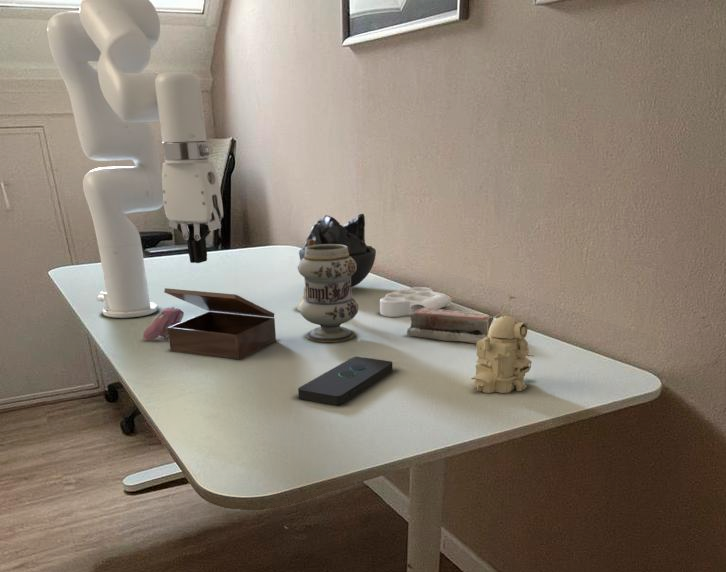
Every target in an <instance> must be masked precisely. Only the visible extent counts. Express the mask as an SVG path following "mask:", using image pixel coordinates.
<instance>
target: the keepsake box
mask: <svg viewBox="0 0 726 572" xmlns="http://www.w3.org/2000/svg"><path fill="white" fill-rule="evenodd" d="M275 321H276V320H275V317H264V316H254V315H244V314H234V313H224V312H214V311H206V312H204V313H201V314H198V315H196V316H193V317H190V318H188V319H185V320H182V321H181V322H180V323H178V324H175V325H172V326H170V327H167V329H168V335H167V337H168V343H169V349H170V352H176V353H184V354H192V355H201V356H207V357H216V358H224V359H232V360H242V359H243V358H246V357H247V356H249V355H251V354H253V353H255V352H257V351H259V350H260V349H262V348H264V347H267V346H268V345H270V344H272V343H274V342H276V341H277V335H276V322H275Z"/></svg>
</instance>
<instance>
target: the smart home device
mask: <svg viewBox="0 0 726 572" xmlns="http://www.w3.org/2000/svg"><path fill="white" fill-rule="evenodd" d="M393 367H394V366H393V361H390V360H385V359H378V358H377V359H376V358H370V357H364V356H353V357H351V358H349V359H347V360H345V361H343V362H342V363H339V364H338V365H336V366H335V367H333V368H331V369H329V370H328V371H326V372H324V373H322V374H320V375H319V376H317V377H315V378H314V379H311V380H310V381H308V382H307V383H305V384H303V385H301V386H299V387H298V388H297V395H298V399H299V400H305V401H310V402H317V403H322V404H327V405H334V406H341V405H343V404H344V403H346V402H347V401H349V400H350V399H352V398H354V397H356V396H357V395H358V394H360V393H361V392H363V391H364V390H366V389H367V388H369V387H371V386H372V385H374V384H375V383H377V382H378V381H380V380H381V379H383V378H384V377H387V376H388V375H389V374H390V373H392V372H393Z"/></svg>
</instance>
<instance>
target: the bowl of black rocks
mask: <svg viewBox="0 0 726 572" xmlns="http://www.w3.org/2000/svg"><path fill="white" fill-rule="evenodd" d="M365 217H366V216H365V214H364V213H360V214H358V215H357V217H356V218H352V219H351V221H347V222H346V223H345V224H344V225H342V224H340V222H339V221H338V220H337V219H335V217H333V216H330V215H327V214H326V215H324V216H323V217H322V218H320V219H319V220H317V222H316V223H315V224H314V225H312V226H311V229H310V234H308V235H307V237H306V239H305V243H304V246H303V247H302V248H301V249H299V250H298V255H299V260H300V261H301V260H302V259H303V258H304V256H305V248H306V247H307V246H308V241H309V239H314V242H315V245H322V244H340V245H345V246H347V247H348V253H349V256H350V257H352V258H353V259H354V260H355V262H356V264H357V269H356V271H355V273H354V274H353V275H352V276H351V288H353V287H355V286H357V285H359V284H360V283H362V281H364V280H365V279H366V278H367V277H368V275H369V274H370V272H371V270H372V269H373V266H374V263H375V261H376V255H377V250H376V248H374V247H373V246H371V245H367V244H366V239H365V237H366V236H365V235H366V234H365V233H366V229H365V226H366V219H365ZM300 261H299V262H300Z"/></svg>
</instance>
